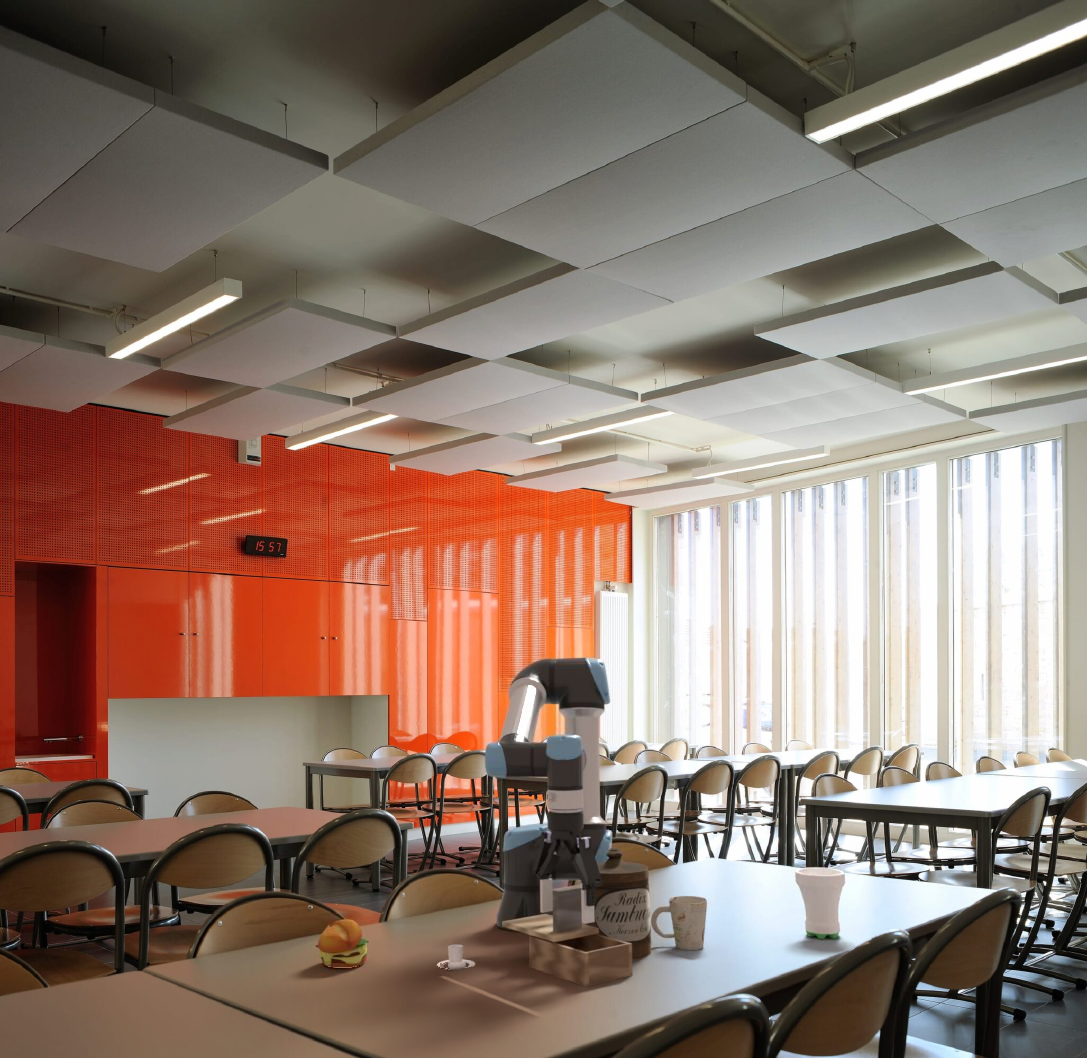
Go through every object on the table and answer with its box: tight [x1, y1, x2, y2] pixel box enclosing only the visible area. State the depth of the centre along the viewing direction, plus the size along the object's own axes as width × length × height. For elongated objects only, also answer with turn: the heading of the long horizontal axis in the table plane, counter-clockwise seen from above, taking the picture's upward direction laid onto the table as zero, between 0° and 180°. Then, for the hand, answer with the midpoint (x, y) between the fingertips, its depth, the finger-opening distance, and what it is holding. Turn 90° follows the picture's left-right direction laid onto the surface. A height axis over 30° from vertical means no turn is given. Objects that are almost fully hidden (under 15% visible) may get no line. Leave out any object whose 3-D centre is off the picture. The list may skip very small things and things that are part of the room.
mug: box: [650, 895, 708, 951], centre depth 226 cm, size 8×13×10 cm, turn 78°
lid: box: [502, 886, 599, 942], centre depth 213 cm, size 18×12×9 cm, turn 38°
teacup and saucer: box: [436, 944, 476, 971], centre depth 212 cm, size 9×8×4 cm
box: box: [528, 934, 634, 987], centre depth 204 cm, size 18×12×6 cm, turn 38°
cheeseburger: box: [315, 918, 369, 968], centre depth 213 cm, size 10×11×10 cm
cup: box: [794, 866, 846, 940], centre depth 234 cm, size 11×11×14 cm
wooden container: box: [581, 847, 652, 960], centre depth 221 cm, size 15×15×22 cm
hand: (566, 917), depth 209 cm, fingers open, 13 cm apart
